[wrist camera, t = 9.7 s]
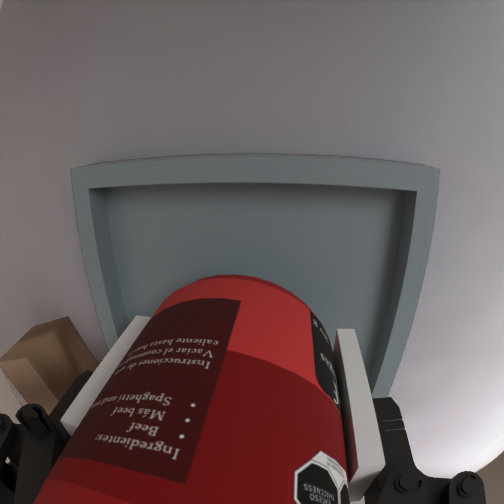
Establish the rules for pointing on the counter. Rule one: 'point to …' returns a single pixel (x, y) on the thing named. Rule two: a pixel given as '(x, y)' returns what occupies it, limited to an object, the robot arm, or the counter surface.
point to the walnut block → (47, 362)
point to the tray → (264, 238)
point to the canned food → (214, 408)
